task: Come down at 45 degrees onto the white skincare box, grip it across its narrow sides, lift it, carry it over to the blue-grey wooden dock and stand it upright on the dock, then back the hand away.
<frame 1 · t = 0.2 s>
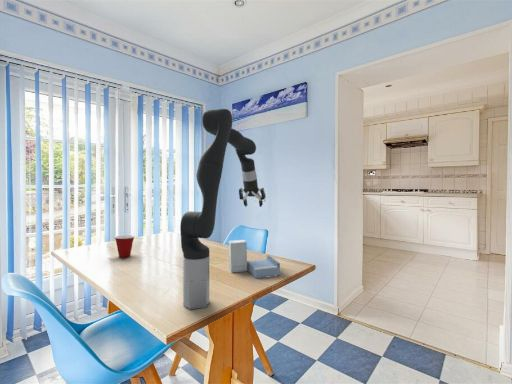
hand: (253, 206, 147), 31 cm above the table, tool tilted 20°, fingers open, 8 cm apart
plastic cup: (124, 256, 154), on the table
skincare box: (237, 270, 132), on the table
dock: (262, 272, 130), on the table
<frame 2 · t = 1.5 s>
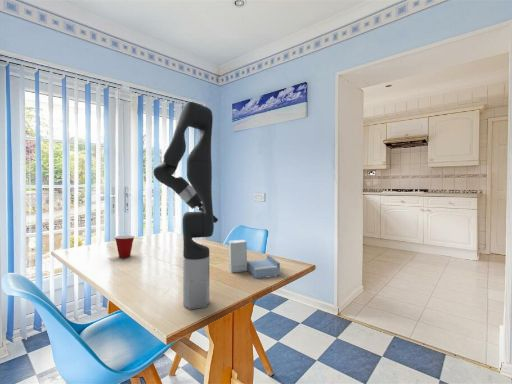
hand: (215, 220, 127), 26 cm above the table, tool tilted 45°, fingers open, 8 cm apart
nothing on the table moved.
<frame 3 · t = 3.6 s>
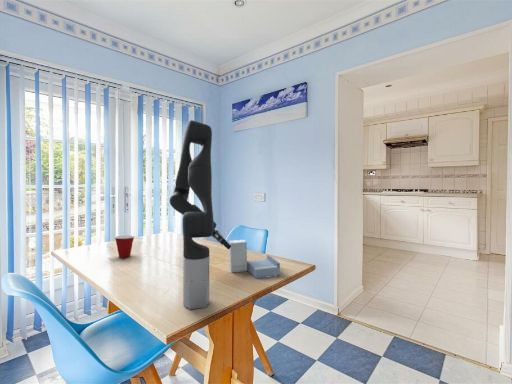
hand: (227, 245, 130), 13 cm above the table, tool tilted 45°, fingers open, 8 cm apart
nothing on the table moved.
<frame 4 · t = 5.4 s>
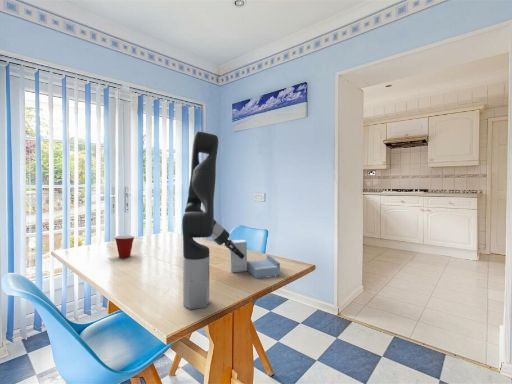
hand: (241, 255, 132), 7 cm above the table, tool tilted 45°, fingers closed on skincare box, 6 cm apart
skincare box: (237, 270, 132), on the table, touching gripper
everything else where it was.
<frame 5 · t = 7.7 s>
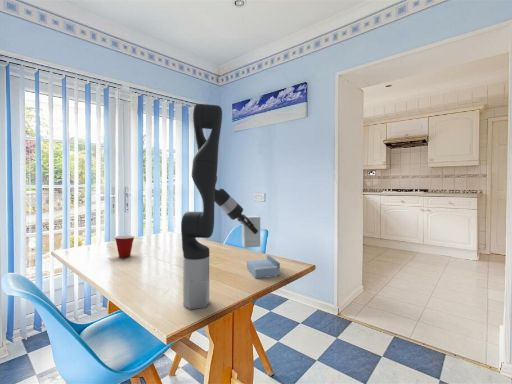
hand: (254, 231, 130), 20 cm above the table, tool tilted 45°, fingers closed on skincare box, 6 cm apart
skincare box: (250, 246, 130), point 12 cm above the table, touching gripper
everything else where it was.
when the fingers open (13 cm above the table, at t = 9.9 s): skincare box drops 1 cm, resting on dock.
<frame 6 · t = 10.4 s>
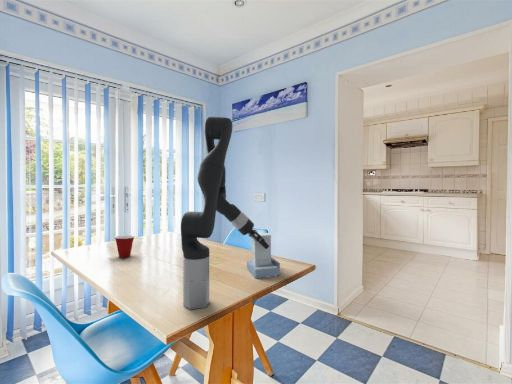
hand: (264, 245, 129), 13 cm above the table, tool tilted 45°, fingers open, 8 cm apart
skincare box: (261, 264, 129), point 4 cm above the table, touching dock
everything else where it was.
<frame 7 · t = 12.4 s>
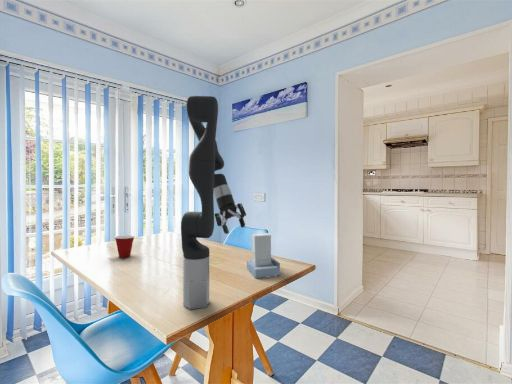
hand: (235, 230, 118), 23 cm above the table, tool tilted 25°, fingers open, 8 cm apart
nothing on the table moved.
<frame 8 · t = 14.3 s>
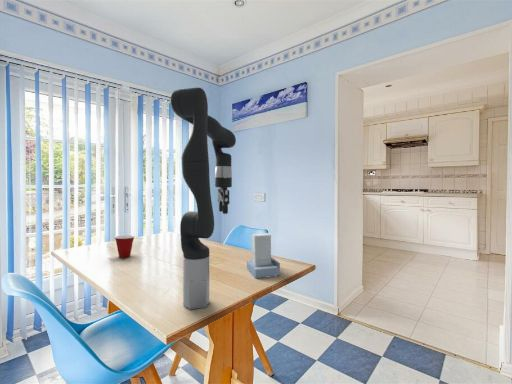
hand: (223, 212, 120), 30 cm above the table, tool pointing down, fingers open, 8 cm apart
nothing on the table moved.
at the end: skincare box inside the target area (0.7 cm from its centre), point 3.8 cm above the table; skincare box tilted 0°; the gripper is holding nothing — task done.
